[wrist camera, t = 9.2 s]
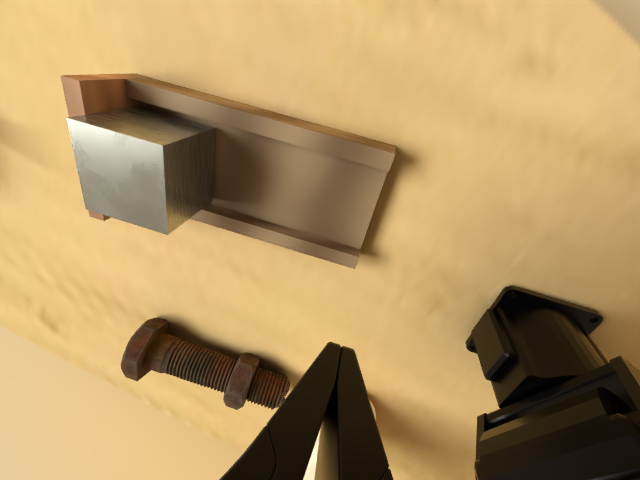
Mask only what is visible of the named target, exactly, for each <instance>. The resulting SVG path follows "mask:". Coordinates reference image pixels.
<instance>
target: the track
mask: <svg viewBox="0 0 640 480" xmlns="http://www.w3.org/2000/svg"><path fill="white" fill-rule="evenodd" d="M61 80H62V85H63V90H64V95H65V99H66V104H67V109H68V114H69V117H74V116H80V115H87V114H93V113H100V112H106V111H112V110H119V109H125V108H132V107H138V106H141V107H145V108H149V109H152V110H156V111H159V112H163V113H166V114H170V115H173V116H177V117H180V118H184V119H187V120H191V121H194V122H198V123H201V124H205V125H208V126H212V127H215V128H216V131H215V159H214V188H213V201H212V202H211V203H210V204H208V205H207V206H206V207H204V208H203V209H202V210H200V211H199V212H198V213H196V214H195V215H194V216H192V217H191V218H190V219H193V220H196V221H200V222H203V223H206V224H209V225H213V226H216V227H219V228H223V229H226V230H229V231H232V232H236V233H239V234H242V235H245V236H249V237H252V238H255V239H258V240H262V241H265V242H268V243H271V244H275V245H278V246H281V247H285V248H288V249H291V250H294V251H298V252H301V253H304V254H307V255H311V256H314V257H317V258H320V259H324V260H327V261H330V262H334V263H337V264H340V265H343V266H347V267H350V268H353V269H355V267H356V264H357V261H358V259H359V254H360V249H361V246H362V243H363V241H364V238H365V235H366V232H367V229H368V226H369V223H370V221H371V218H372V215H373V212H374V209H375V206H376V203H377V201H378V198H379V195H380V192H381V189H382V186H383V183H384V181H385V178H386V175H387V172H388V171H390V168H391V165H392V162H393V159H394V157H395V146H394V145H390V144H387V143H383V142H379V141H376V140H372V139H369V138H365V137H361V136H358V135H354V134H351V133H347V132H343V131H340V130H336V129H332V128H329V127H325V126H322V125H318V124H314V123H311V122H307V121H304V120H300V119H296V118H293V117H289V116H285V115H282V114H278V113H275V112H271V111H267V110H264V109H260V108H257V107H253V106H249V105H246V104H242V103H239V102H235V101H231V100H228V99H224V98H220V97H217V96H213V95H210V94H206V93H202V92H199V91H195V90H192V89H188V88H184V87H181V86H177V85H173V84H170V83H166V82H163V81H159V80H155V79H152V78H148V77H145V76H141V75H137V74H100V75H62V76H61ZM89 215H90V217H94V218H97V219H100V220H103V221H105V220H107V219H109V218H110V217H109V216H106V215H103V214H99V213H96V212H93V211H90V210H89Z"/></svg>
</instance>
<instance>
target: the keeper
mask: <svg viewBox="0 0 640 480" xmlns="http://www.w3.org/2000/svg"><path fill="white" fill-rule="evenodd" d="M67 122H68V127H69V132H70V136H71V141H72V146H73V151H74V155H75V160H76V165H77V169H78V174H79V179H80V184H81V188H82V193H83V198H84V202H85V207H86V210H90V211H93V212H96V213H99V214H103V215H106V216H109V217H112V218H115V219H119V220H122V221H125V222H128V223H131V224H135V225H138V226H141V227H144V228H147V229H151V230H154V231H157V232H160V233H163V234H167V235H168V234H169V233H171V232H172V231H173V230H175V229H176V228H177V227H179V226H180V225H181V224H183V223H184V222H186V221H187V220H188V219H190V218H191V217H192V216H194V215H195V214H196V213H198V212H199V211H200V210H202V209H203V208H204V207H206V206H207V205H208V204H210V203H211V202H212V201H213V188H214V159H215V131H216V128H215V127H212V126H208V125H205V124H201V123H198V122H194V121H191V120H187V119H184V118H180V117H177V116H173V115H170V114H166V113H163V112H159V111H156V110H152V109H149V108H145V107H141V106H138V107H132V108H125V109H119V110H112V111H106V112H100V113H93V114H87V115H80V116H74V117H68V118H67Z"/></svg>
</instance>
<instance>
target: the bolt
mask: <svg viewBox="0 0 640 480" xmlns="http://www.w3.org/2000/svg"><path fill="white" fill-rule="evenodd" d="M259 362H260V360H259V358H258V357H257V356H254V355H252V354H249V353H244V354H242V355H241V356H240V357H239V359H238V360H237V359H235V360H234V358H232V359H231V356H230V357H229V358H228V356H227V355H226V356H225V354H223V355H222V354H221V353H220V354H218V352H217V353H215V351H213V352H212V350H210V351H209V349H205V348H202V347H201V346H200V347H199V346H198V345H197V346H196V344H194V345H193V344H192V343H190V342H186V341H183V340H181V339H180V338H178V337H175V336H172V335H169V321H166V320H163V319H160V318H153V319H149V320H147V321H146V322H145V323H144V324H143V325H142V326H141V327H140V328H139V329H138V330H137V331H136V332H135V333H134V335H133V336H132V337H131V339H130V340H129V342H128V344H127V347H126V349H125V352H124V354H123V358H122V362H121V369H122V371H123V373H124V375H125V377H127V378H130V379H132V380H135V381H138V380H139V379H141V378H142V377H143V376H144V375H146V374H147V373H148V372H149V371H151V370H153V371H156V372H159V373H166V374H170V375H173V376H176V377H179V378H181V379H182V378H183V380H187V381H190V382H193V383H197V385H198V384H200V386H202V385H204V387H206V386H207V388H209V387H211V389H213V388H214V390H216V389H217V391H221V393H222V392H223V391H224V399H223V400H224V402H225V405H226V406H228V407H231V408H233V409H236V410H237V409H239V408H241V407H243V406H244V404H245V401H246V400H248V402H249V401H251V403H252V402H253V401H254V404H255V403H257V404H258V405H259V404H261V406H263V405H264V406H265V407H267V406H268V409H269V408H270V407H271V409H274V408H277V407H280V406H281V404H282V403H283V402H284V400H285V397H284V396H286V394H287V393H288V391H289V387H290V381H289V380H288V377H286V378H285V375H284V376H282V374H281V375H279V373H278V374H276V372H274V373H273V371H271V372H270V371H269V370H268V371H266V369H264V370H263V368H261V369H260V366H259ZM258 366H259V367H258Z"/></svg>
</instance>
